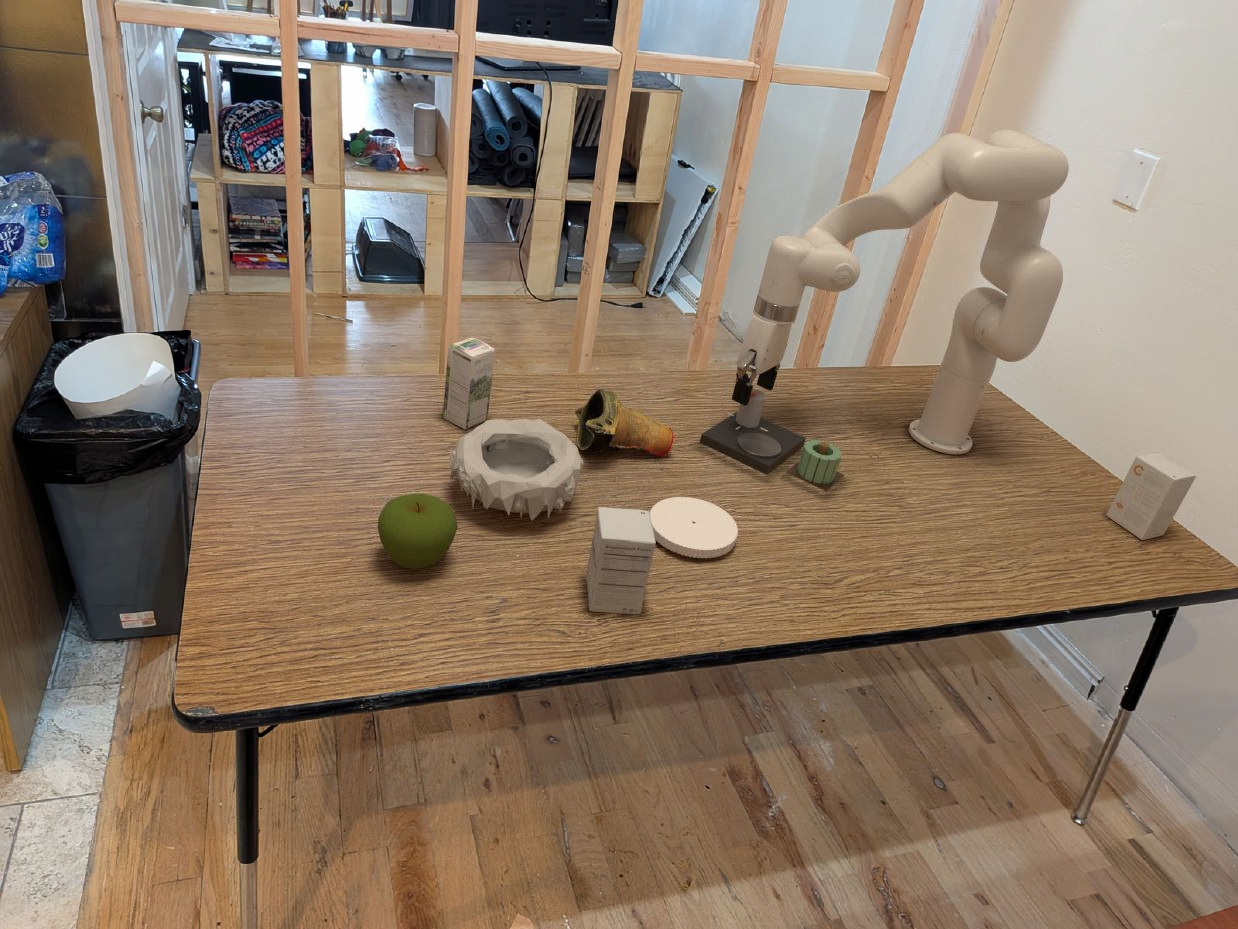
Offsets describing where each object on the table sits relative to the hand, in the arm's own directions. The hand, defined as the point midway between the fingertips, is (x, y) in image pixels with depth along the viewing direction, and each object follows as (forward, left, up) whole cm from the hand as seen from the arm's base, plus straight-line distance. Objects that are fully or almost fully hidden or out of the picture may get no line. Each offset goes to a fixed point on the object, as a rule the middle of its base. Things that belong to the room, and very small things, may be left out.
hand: (752, 394), depth 169 cm
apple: (+70, -14, -9) cm, 72 cm away
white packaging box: (+56, +10, -9) cm, 58 cm away
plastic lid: (+35, +10, -9) cm, 38 cm away
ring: (+3, +17, -8) cm, 19 cm away
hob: (+3, +4, -9) cm, 10 cm away
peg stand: (+3, +17, -9) cm, 19 cm away
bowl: (+48, -15, -9) cm, 51 cm away
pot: (+24, -14, -9) cm, 29 cm away
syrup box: (+36, -37, -9) cm, 52 cm away
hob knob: (0, 0, -6) cm, 6 cm away
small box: (-31, +66, -9) cm, 74 cm away
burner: (+6, +6, -6) cm, 11 cm away
